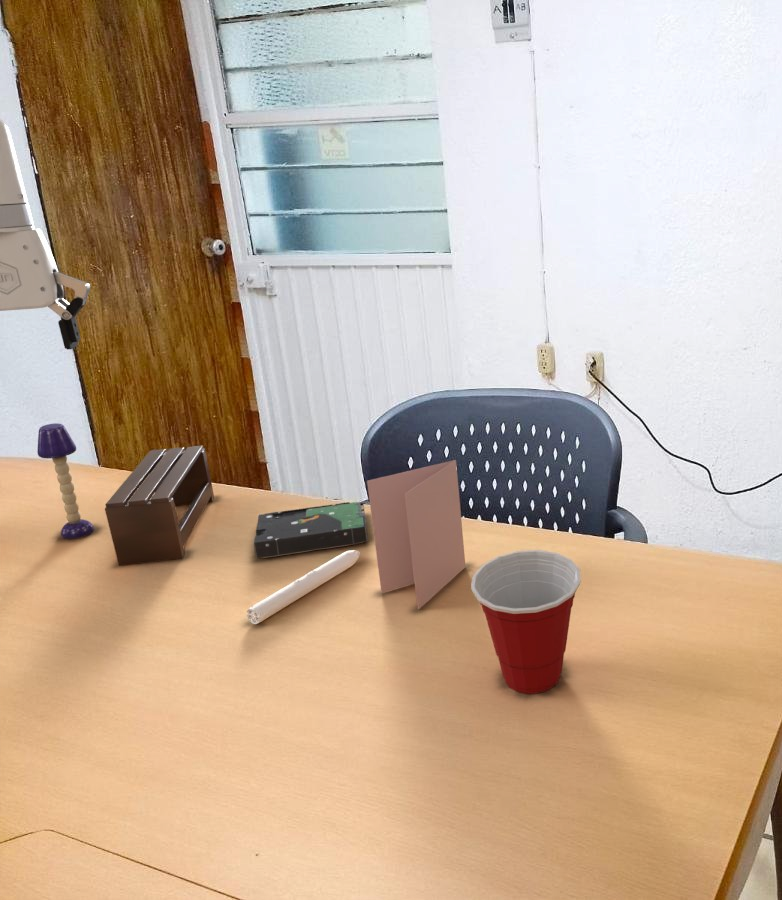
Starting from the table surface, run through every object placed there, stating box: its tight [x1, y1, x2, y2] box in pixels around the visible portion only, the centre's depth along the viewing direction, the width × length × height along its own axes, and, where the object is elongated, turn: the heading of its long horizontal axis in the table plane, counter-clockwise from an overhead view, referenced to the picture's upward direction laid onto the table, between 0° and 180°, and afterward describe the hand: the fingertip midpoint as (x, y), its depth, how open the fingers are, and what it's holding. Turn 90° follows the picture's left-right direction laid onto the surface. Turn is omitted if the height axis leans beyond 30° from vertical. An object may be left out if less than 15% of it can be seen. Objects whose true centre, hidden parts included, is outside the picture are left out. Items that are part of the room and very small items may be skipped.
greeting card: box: [366, 459, 467, 611], centre depth 101 cm, size 11×7×15 cm, turn 124°
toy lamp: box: [36, 423, 95, 540], centre depth 119 cm, size 5×5×17 cm
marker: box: [245, 549, 361, 625], centre depth 103 cm, size 18×2×2 cm, turn 154°
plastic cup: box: [470, 549, 582, 695], centre depth 83 cm, size 11×11×12 cm
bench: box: [104, 445, 215, 566], centre depth 121 cm, size 8×22×9 cm, turn 13°
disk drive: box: [253, 501, 369, 559], centre depth 118 cm, size 10×3×15 cm
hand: (32, 350), depth 112 cm, fingers open, 9 cm apart
